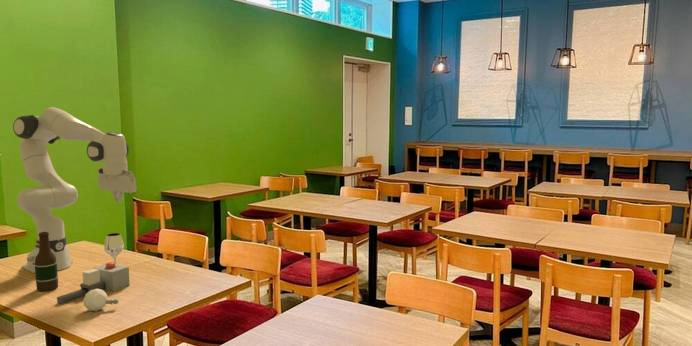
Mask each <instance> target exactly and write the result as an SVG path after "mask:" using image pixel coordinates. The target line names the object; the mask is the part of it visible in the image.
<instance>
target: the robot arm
mask: <svg viewBox="0 0 692 346" xmlns="http://www.w3.org/2000/svg"><path fill="white" fill-rule="evenodd" d="M12 130H13V132H14V134H15V136H16V137H18V138H20V139H22V140H21V141H20V143H19V153H20V157H21V161H22V164H23V167H24V171H25V173H26V177H27V178H28V179H30V180H31V181H32V182H36V183H38V184H39V185H41V186H35V187H30V188H26V189H23V190H20V191H19V192H18V194H17V198H16V204H17V207H18V208H19V209H20V210H21V211H23V212H25V213H26V214H28V215H29V216H30V217H31V218H32V220H33V221H34V223H35V228H36V236H37V237H36V238H37V239H35V240H34V241H35V242H34V243H35V248H34V249H32V250H31V251H30V252H29V253H28V254H27V258H26V261H27V262H26V263H24V264H21V268H23V269H25V270H26V271H28V272H30V273H32V274H35V259H36V256H37V255H38V253H39V236H38V235H39V233H41V232H48V233H49V235H48V236H49V243H50V249H51V251H52V252H53V253H54V255H55V257H56V260H57V272H58V271H62V270H65V269H68V268H70V267H71V264H73V263H74V261H73V260H71V254H70V248H69V246H67V237H66V233H65V232H66V231H65V222H64V221H63V219H62V218H61V217H58V216H55V215H53V213H52V212H51V211H52V210H53V209H60V208H65V207H69V206H71V205H73V204H74V205H75V203H76V202H77V200H78V199H79V192H78V190H77V188H76V187H75V186H74V185H72V184H71V183H68V182H67V181H65V180H63V178H61V176H59V175H58V173H57V171H56V170H55V168H54V166H53V163H52V160H51V157H50V154H49V152H48V149H47V145H48V144H50V145H52V144H54V143H56V141H58V140H60V139H63V140H66V141H74V142H75V141H79V142H80V141H82V142H83V141H84V142H89V143H88V144H87V146H86V155H87V157H88V159H89V160H91V161H92V162H95V163H101V162H104V163H105V164H104V166H102V167H100V168H97V174H98V176H97V177H98V178H97V180H98V184H97V185H98V188H99V190H101V191H109V192H111V194H112V196H113V199H114V200H113V201H114V202H117V203H121V202H123V197H124V193H128V194H131V193H136V192H137V190H138V189H137V181H136V177H135V174H134V173H133V172H132V171H131V170H128V169H129V167H128V160H127V157H128V156H129V153H130V147H129V145H128V143H127V141H126V138H125V135H124V134H122V133H120V132H115V131H114V132H113V131H111V132H110V131H109V132H104V131H102V130H101V129H98V128H96V127H94V126H93V125H90V124H88V123H86V122H84V121H82V120H80V119H79V118H76V117H75V116H73V115H72V114H70V113H68V112H67V111H65V110H63V109H60V108H57V107H53V106H52V107H47V108H46V109H44V110H42V113H41V115H39V116H38V115H34V114H31V115H22V116H18V117H17V118H16V119H15V120H14V121H13V125H12Z"/></svg>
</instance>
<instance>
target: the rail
mask: <svg viewBox="0 0 692 346" xmlns="http://www.w3.org/2000/svg"><path fill="white" fill-rule="evenodd" d="M104 289H105V283H103V291H104ZM105 290H106V289H105ZM86 293H88V289H87V288H83V289H81V288H80V289H78V290H75V291H72V292H68V293H66V294H63V295H59V296H57V297H56V303H58V305H61V304H62V305H64V303H65V304H68V303H70V302H73V301H75V300H78V298H79V299H81V297H82V298H84V296H85V295H86Z"/></svg>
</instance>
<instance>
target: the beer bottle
mask: <svg viewBox="0 0 692 346" xmlns="http://www.w3.org/2000/svg"><path fill="white" fill-rule="evenodd" d="M48 235H49V233H48V232H41V233H39V235H38V236H39V253H38V255H37V256H36V259H35V273H34V274H35V287H36V291H38V292H39V293H48V292H49V293H50V292H53V291H56V290H57V289H58V288H59V275H58V271H57V260H56V257H55V255H54V253H53V252H52V251H51V249H50V243H49V236H48Z"/></svg>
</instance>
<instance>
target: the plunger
mask: <svg viewBox="0 0 692 346" xmlns="http://www.w3.org/2000/svg"><path fill="white" fill-rule="evenodd" d="M105 264H106V267H107V269H113V268H114V266H115V262H114V261H112V262H111V261H110V262H105Z"/></svg>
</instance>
